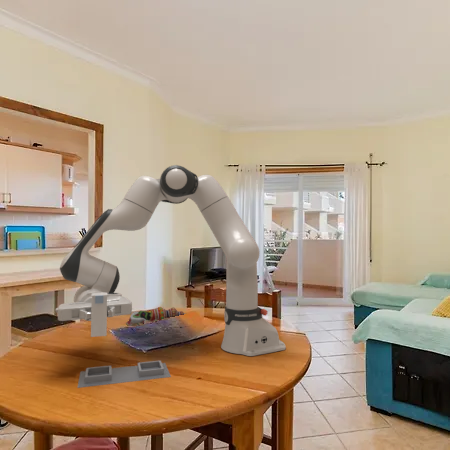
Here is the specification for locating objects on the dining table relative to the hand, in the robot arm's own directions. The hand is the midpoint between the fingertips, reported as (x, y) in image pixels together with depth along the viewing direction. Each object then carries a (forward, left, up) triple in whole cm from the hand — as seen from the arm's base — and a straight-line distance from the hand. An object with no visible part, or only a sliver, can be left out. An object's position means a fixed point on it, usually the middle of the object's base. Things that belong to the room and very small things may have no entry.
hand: (99, 315), depth 99 cm
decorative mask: (-24, -57, -18) cm, 64 cm away
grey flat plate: (-7, -1, -18) cm, 19 cm away
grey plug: (0, -1, -5) cm, 5 cm away
